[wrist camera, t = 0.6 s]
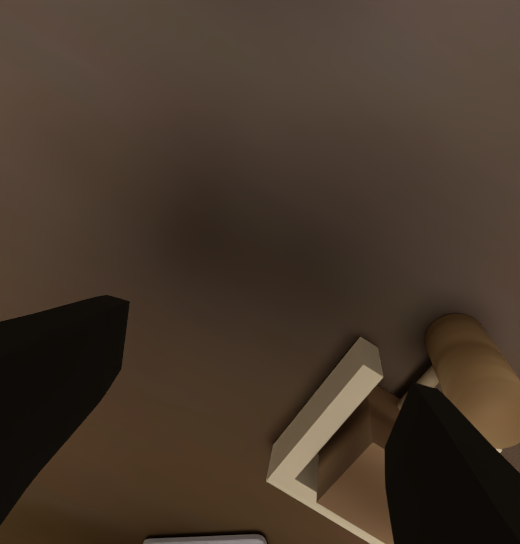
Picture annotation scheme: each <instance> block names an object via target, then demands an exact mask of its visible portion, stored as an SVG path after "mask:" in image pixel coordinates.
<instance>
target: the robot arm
mask: <svg viewBox="0 0 520 544" xmlns="http://www.w3.org/2000/svg"><path fill="white" fill-rule="evenodd" d="M129 303H130V301H126V300H123V299H119V298H116V297H112V296H109V295H104V296H98V297H94V298H90V299H86V300H82V301H78V302H75V303H71V304H68V305H64V306H60V307H57V308H53V309H49V310H46V311H42V312H38V313H35V314H31V315H26V316H22V317H18V318H14V319H10V320H5V321H1V322H0V525H1V524H2V522H3V521H4V519H5V518H6V517H7V515H8V514H9V512H10V511H11V509H12V508H13V507H14V505H15V504H16V502H17V501H18V500H19V498H20V497H21V495H22V494H23V493H24V491H25V490H26V488H27V487H28V486H29V485H30V483H31V482H32V481H33V480H34V478H35V477H36V476H37V475H38V473H39V472H40V471H41V470H42V468H43V467H44V466H45V465H46V464H47V463H48V462H49V460H50V459H51V458H52V457H53V456H54V455H55V453H56V452H57V451H58V450H59V449H60V448H61V447H62V445H63V444H64V443H65V442H66V441H67V440H68V438H69V437H70V436H71V435H72V434H73V433H74V432H75V430H76V429H77V428H78V427H79V426H80V425H81V423H82V422H83V421H84V420H85V419H86V418H87V416H88V415H89V414H90V413H91V412H92V411H93V409H94V408H95V407H96V406H97V405H98V403H99V402H100V401H101V400H102V398H103V397H104V395H105V394H106V392H107V391H108V389H109V388H110V386H111V384H112V383H113V381H114V380H115V378H116V376H117V375H118V373H119V372H120V370H121V366H122V358H123V350H124V342H125V335H126V327H127V319H128V311H129ZM385 489H386V496H387V503H388V509H389V516H390V522H391V529H392V535H393V541H394V544H520V473H519V472H518V471H517V470H516V469H515V468H514V467H513V466H512V465H511V464H510V463H509V462H508V461H507V460H506V459H505V458H504V457H503V456H502V455H501V454H500V453H499V452H498V451H497V450H496V449H495V448H494V447H493V446H492V445H491V444H490V443H489V442H488V440H487V439H486V438H485V437H484V436H483V435H482V434H481V433H480V432H479V431H478V430H477V429H476V428H475V427H474V426H473V425H472V423H471V422H470V421H469V420H468V419H467V418H466V417H465V416H464V415H463V414H462V413H461V412H460V411H459V409H458V408H457V407H456V406H455V405H454V404H453V403H452V402H451V401H450V400H449V399H448V398H447V397H446V396H445V395H444V394H443V393H442V392H440V391H439V390H438V389H436V388H432V387H429V386H425V385H422V384H418V383H415V382H412V383H411V386H410V388H409V390H408V393H407V395H406V398H405V400H404V402H403V405H402V407H401V409H400V412H399V414H398V417H397V419H396V421H395V424H394V426H393V428H392V431H391V433H390V436H389V438H388V440H387V443H386V445H385ZM143 544H267V542H266V540H265V538H264V537H263V536H262V535H259V534H247V535H224V536H201V537H177V538H154V539H146V540H145V541H144V542H143Z"/></svg>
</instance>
